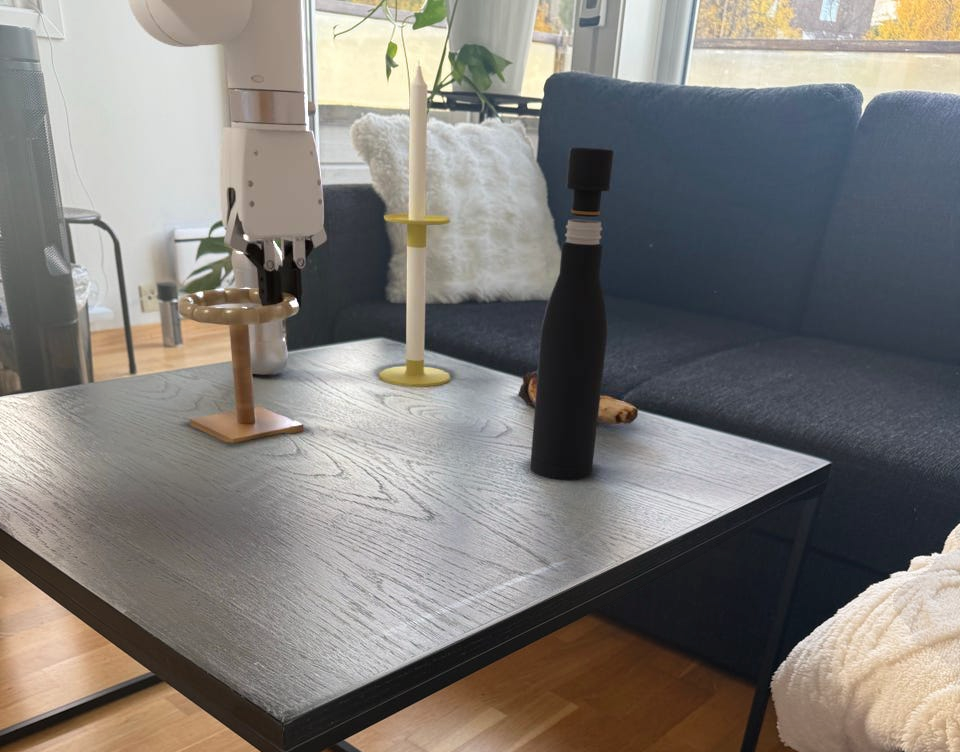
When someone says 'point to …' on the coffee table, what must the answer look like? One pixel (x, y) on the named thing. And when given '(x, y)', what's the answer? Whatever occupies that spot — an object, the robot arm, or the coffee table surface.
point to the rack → (244, 402)
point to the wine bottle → (573, 333)
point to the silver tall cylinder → (265, 336)
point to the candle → (416, 249)
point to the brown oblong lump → (608, 407)
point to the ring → (200, 312)
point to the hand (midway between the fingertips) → (281, 305)
